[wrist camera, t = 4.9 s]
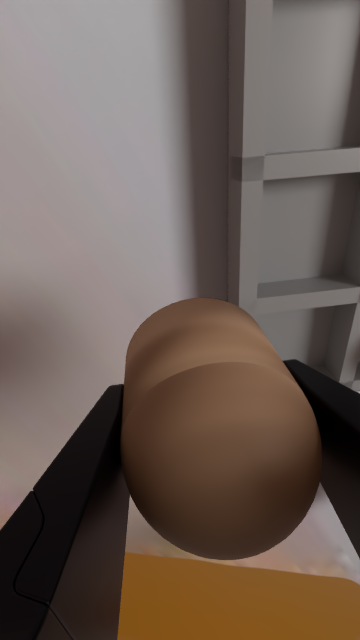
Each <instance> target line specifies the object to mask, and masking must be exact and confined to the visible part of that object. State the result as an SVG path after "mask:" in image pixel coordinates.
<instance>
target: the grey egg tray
mask: <svg viewBox="0 0 360 640" xmlns="http://www.w3.org/2000/svg"><path fill="white" fill-rule="evenodd" d="M228 302H230V303H232V304H234V305H236V306H238V307H240V308H242V309H243V310H245V311H246V312H247V313H248V314H250V315H251V316H252V317H253V318H254V320H255V321H256V322H257V323H258V325H259V326H260V328H261V329H262V331H263V332H264V334H265V335H266V337H267V338H268V340H269V341H270V343H271V345H272V346H273V348H274V349H275V351H276V352H277V354H278V355H279V357H280V358H281V360H282V361H283V360H289V359H297V360H299V361H300V362H302V363H304V364H306V365H308V366H310V367H312V368H313V369H315V370H317V371H319V372H321V373H323V374H324V375H326V376H328V377H330V378H332V379H334V380H335V381H337V382H339V383H341V384H343V385H345V386H347V387H348V388H350V389H352V390H354V391H360V0H229V78H228Z"/></svg>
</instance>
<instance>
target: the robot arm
mask: <svg viewBox="0 0 360 640" xmlns="http://www.w3.org/2000/svg"><path fill="white" fill-rule="evenodd" d="M283 363H284V364H285V366H286V367H287V369H288V370H289V372H290V373H291V375H292V376H293V378H294V379H295V381H296V382H297V384H298V385H299V387H300V388H301V390H302V391H303V393H304V395H305V397H306V399H307V400H308V402H309V404H310V406H311V408H312V410H313V413H314V415H315V418H316V421H317V424H318V427H319V432H320V437H321V444H322V470H321V476H320V483H321V484H322V486H323V488H324V490H325V492H326V494H327V496H328V498H329V500H330V502H331V504H332V506H333V508H334V510H335V512H336V514H337V515H338V517H339V519H340V521H341V523H342V525H343V527H344V529H345V531H346V533H347V535H348V537H349V539H350V541H351V543H352V544H353V546H354V548H355V550H356V552H357V554H358V556H359V558H360V394H359V393H358V392H356V391H354V390H352V389H350V388H348V387H347V386H345V385H343V384H341V383H339V382H337V381H335V380H334V379H332V378H330V377H328V376H326V375H324V374H323V373H321V372H319V371H317V370H315V369H313V368H312V367H310V366H308V365H306V364H304V363H302V362H300V361H299V360H297V359H289V360H283ZM123 393H124V385H123V384H118V385H111V386H109V387H108V388H107V390H106V391H105V392H104V394H103V395H102V396H101V398H100V399H99V400H98V402H97V403H96V404H95V406H94V407H93V408H92V410H91V411H90V412H89V414H88V415H87V416H86V418H85V419H84V420H83V422H82V423H81V424H80V426H79V427H78V428H77V430H76V431H75V432H74V434H73V435H72V436H71V438H70V439H69V440H68V442H67V443H66V444H65V446H64V447H63V448H62V450H61V451H60V452H59V454H58V455H57V456H56V458H55V459H54V460H53V462H52V463H51V464H50V466H49V467H48V468H47V470H46V471H45V472H44V474H43V475H42V476H41V478H40V479H39V480H38V482H37V483H36V484H35V486H34V487H33V491H34V492H33V491H30V492H29V494H28V495H27V496H26V498H25V499H24V500H23V502H22V503H21V504H20V506H19V507H18V508H17V509H16V511H15V512H14V513H13V515H12V516H11V517H10V518H9V520H8V521H7V522H6V524H5V525H4V526H3V527H2V529H1V530H0V640H117V635H118V624H119V613H120V602H121V589H122V579H123V566H124V556H125V544H126V533H127V521H128V510H129V498H130V493H129V490H128V488H127V485H126V482H125V479H124V475H123V469H122V464H121V458H120V435H121V421H122V407H123Z"/></svg>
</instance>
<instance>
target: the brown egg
mask: <svg viewBox="0 0 360 640" xmlns="http://www.w3.org/2000/svg"><path fill="white" fill-rule="evenodd" d="M120 458H121V464H122V469H123V475H124V479H125V482H126V485H127V488H128V490H129V493H130V495H131V497H132V499H133V501H134V503H135V505H136V507H137V508H138V510H139V511H140V513H141V514H142V516H143V517H144V518H145V520H146V521H147V522H148V524H149V525H150V526H151V527H152V528H153V529H154V530H155V531H157V532H158V533H159V534H160V535H161V536H162V537H163V538H164V539H166V540H167V541H169V542H170V543H172V544H173V545H175V546H176V547H178V548H180V549H182V550H184V551H186V552H189V553H192V554H194V555H197V556H200V557H204V558H209V559H218V560H237V559H243V558H248V557H252V556H255V555H258V554H260V553H263V552H265V551H267V550H269V549H271V548H272V547H274V546H275V545H277V544H279V543H280V542H281V541H283V540H284V539H286V538H287V537H288V536H289V535H290V534H291V533H292V532H293V531H294V530H295V528H296V527H297V526H298V525H299V524H300V523H301V522H302V520H303V519H304V517H305V516H306V514H307V512H308V510H309V509H310V507H311V505H312V503H313V501H314V498H315V495H316V492H317V489H318V486H319V482H320V476H321V470H322V444H321V437H320V432H319V427H318V424H317V421H316V418H315V415H314V413H313V410H312V408H311V406H310V404H309V402H308V400H307V399H306V397H305V395H304V393H303V391H302V390H301V388H300V387H299V385H298V384H297V382H296V381H295V379H294V378H293V376H292V375H291V373H290V372H289V370H288V369H287V367H286V366H285V364H284V363H283V361H282V360H281V358H280V357H279V355H278V354H277V352H276V351H275V349H274V348H273V346H272V345H271V343H270V341H269V340H268V338H267V337H266V335H265V334H264V332H263V331H262V329H261V328H260V326H259V325H258V323H257V322H256V321H255V320H254V318H253V317H252V316H251V315H250V314H248V313H247V312H246V311H245V310H243V309H242V308H240V307H238V306H236V305H234V304H232V303H230V302H226V301H223V300H219V299H213V298H193V299H187V300H182V301H179V302H176V303H172V304H170V305H168V306H166V307H163V308H162V309H160V310H158V311H157V312H155V313H154V314H152V315H151V316H150V317H149V318H147V319H146V320H145V321H144V322H143V323H142V324H141V325H140V326H139V328H138V329H137V331H136V332H135V333H134V335H133V337H132V339H131V341H130V343H129V346H128V349H127V355H126V365H125V379H124V393H123V407H122V421H121V435H120Z"/></svg>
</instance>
